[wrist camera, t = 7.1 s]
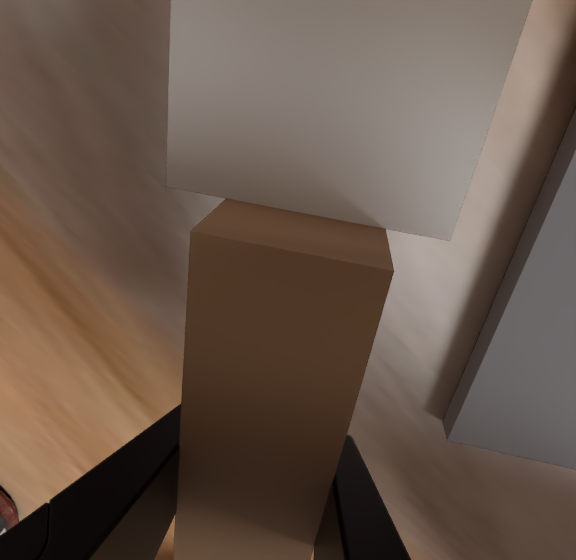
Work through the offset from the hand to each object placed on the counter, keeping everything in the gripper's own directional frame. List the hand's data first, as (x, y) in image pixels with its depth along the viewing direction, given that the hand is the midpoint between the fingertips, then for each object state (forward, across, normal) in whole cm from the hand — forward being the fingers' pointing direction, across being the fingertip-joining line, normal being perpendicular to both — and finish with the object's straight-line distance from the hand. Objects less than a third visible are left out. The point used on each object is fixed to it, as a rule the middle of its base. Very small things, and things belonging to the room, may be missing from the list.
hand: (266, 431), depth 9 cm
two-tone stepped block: (+1, 0, -4) cm, 4 cm away
